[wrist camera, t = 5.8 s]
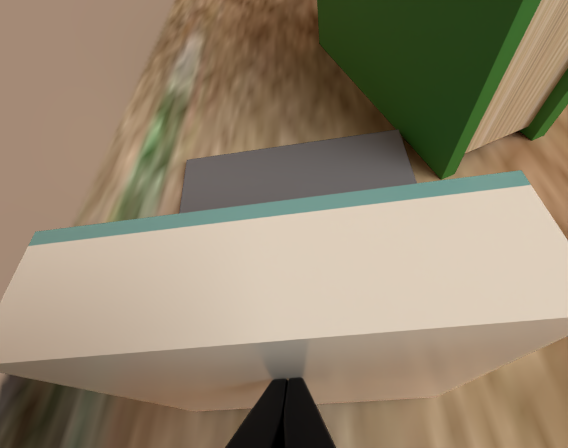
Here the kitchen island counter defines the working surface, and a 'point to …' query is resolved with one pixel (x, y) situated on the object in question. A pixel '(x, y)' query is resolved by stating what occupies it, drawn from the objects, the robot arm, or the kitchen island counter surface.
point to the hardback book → (453, 67)
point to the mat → (296, 171)
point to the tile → (294, 296)
